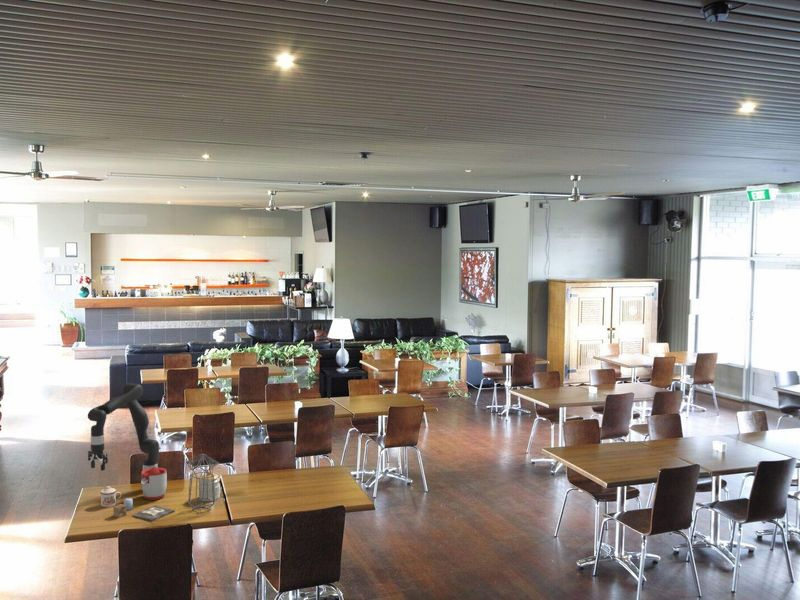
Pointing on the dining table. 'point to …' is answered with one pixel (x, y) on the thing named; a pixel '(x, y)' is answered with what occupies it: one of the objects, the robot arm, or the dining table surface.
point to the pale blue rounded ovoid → (128, 504)
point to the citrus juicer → (154, 483)
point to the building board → (153, 513)
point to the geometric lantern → (201, 478)
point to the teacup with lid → (109, 497)
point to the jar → (209, 486)
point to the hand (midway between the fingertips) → (97, 469)
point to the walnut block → (119, 510)
